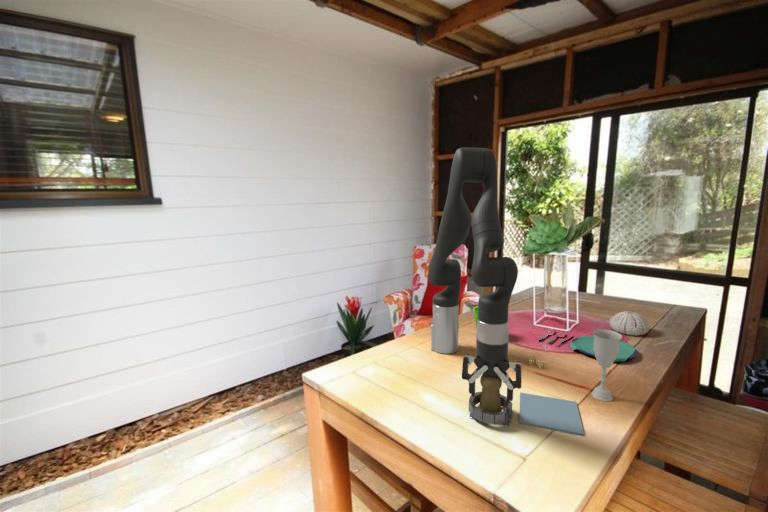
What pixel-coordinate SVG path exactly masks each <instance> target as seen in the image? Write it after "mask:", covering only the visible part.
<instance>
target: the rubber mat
mask: <svg viewBox="0 0 768 512" xmlns="http://www.w3.org/2000/svg"><path fill="white" fill-rule="evenodd" d="M518 417H519V421H518V422H519V424H523V425H526V426H532V427H538V428H542V427H543V429H547V428H549V429H548V430H552V429H554V430H553V431H557V430H560V431H559V432H562V431H564V432H563V433H567V432H568V434H572V435H573V434H574V435H578V436H583V437H584V436H585V433H584V429H583V425H582V420H581V416H580V412H579V408H578V404H577V401H574V400H567V399H561V398H555V397H550V396H544V395H538V394H532V393H526V392H519V416H518Z"/></svg>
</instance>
